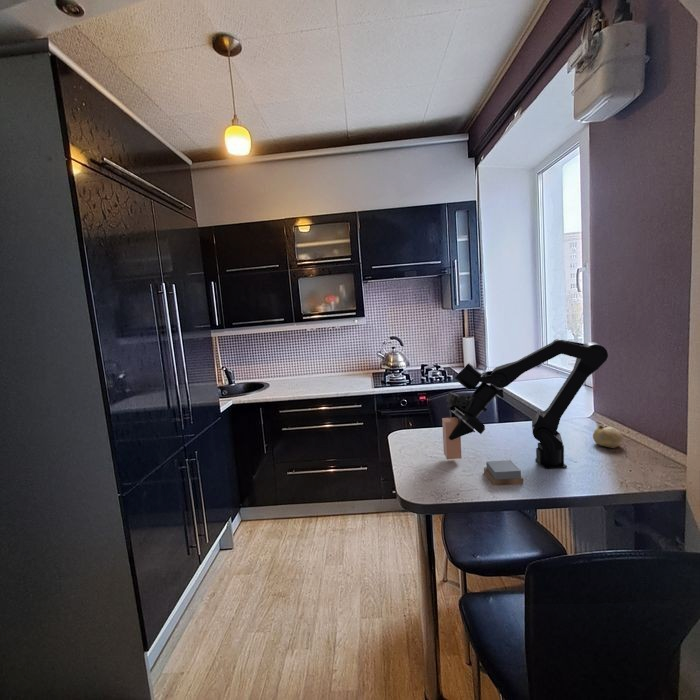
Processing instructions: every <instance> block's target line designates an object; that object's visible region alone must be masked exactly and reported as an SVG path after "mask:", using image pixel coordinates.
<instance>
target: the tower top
mask: <svg viewBox="0 0 700 700" xmlns="http://www.w3.org/2000/svg"><path fill="white" fill-rule="evenodd" d="M485 463H486V467H487V470H488V471H489V472H490V474H491V475H492V476H493V478H494V479H495V480H500V479H519V478H521V477H522V470H521V469H520V468H519V467H518V466H517V465H516V464H515V463H514V462H513V461H512V460H511V459H505V460H504V459H503V460H492V461H491V460H490V461H486V462H485Z"/></svg>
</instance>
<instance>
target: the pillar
mask: <svg viewBox="0 0 700 700" xmlns="http://www.w3.org/2000/svg"><path fill="white" fill-rule="evenodd" d="M441 421H442V422H441V424H442V425H441V426H442V441H443V443H442V444H443V455H444V456H445V459H446V460H460V459H462V440H461V439H462V438H461V437H462V436H461V437H458V438H456V439H453V440H450V439H449V436H450V435H451V433H452V432H453V430H454V429H455V427H456V426H457V425H458V419H457V418H456V417H452V418H450V417H442V418H441Z"/></svg>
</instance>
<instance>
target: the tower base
mask: <svg viewBox="0 0 700 700" xmlns="http://www.w3.org/2000/svg"><path fill="white" fill-rule="evenodd" d="M483 472H484V474H485V475H486V477H487V478H488V480H489V479H490V480H489V481H490V483H491V484H492V485H493V486H494V485H495V486H507V485H508V486H509V485H523V484H524V478H523V477H522V476H521V478H519V479H500V480H495V479H494V478H493V476H492V475H491V474H490V472H489V471H488V470H487V466H486V467H483Z"/></svg>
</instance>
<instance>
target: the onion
mask: <svg viewBox="0 0 700 700" xmlns="http://www.w3.org/2000/svg"><path fill="white" fill-rule="evenodd" d="M592 439H593V440H594V442H595V444H597V445H599V446H601V447H606V448H611V449H615V448H618V447H619V446H620V445H621V444H622V443H623V440H624V437H623V434H622V432H620V431H619V430H617V429H616V428H615V427H612V426H609V425H607V424H605V423H604V424H599V425H598V426H597V427H596V429H594V432H593V434H592Z"/></svg>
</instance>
